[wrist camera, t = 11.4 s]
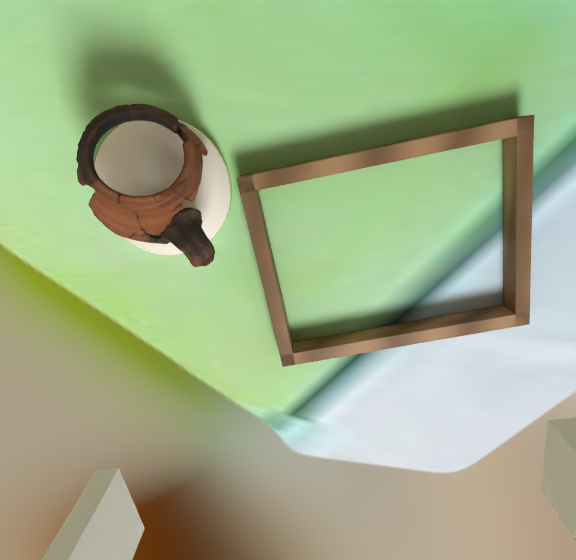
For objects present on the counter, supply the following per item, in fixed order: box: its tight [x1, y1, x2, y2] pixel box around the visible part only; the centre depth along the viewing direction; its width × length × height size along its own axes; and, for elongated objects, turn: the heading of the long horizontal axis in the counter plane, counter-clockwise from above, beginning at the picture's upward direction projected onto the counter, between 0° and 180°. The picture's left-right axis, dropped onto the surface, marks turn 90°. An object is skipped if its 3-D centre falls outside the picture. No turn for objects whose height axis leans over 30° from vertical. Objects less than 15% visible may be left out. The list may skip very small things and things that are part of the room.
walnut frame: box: [237, 115, 534, 367], centre depth 32 cm, size 22×17×2 cm
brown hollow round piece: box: [76, 104, 215, 267], centre depth 28 cm, size 12×10×8 cm
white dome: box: [94, 120, 232, 255], centre depth 31 cm, size 11×11×1 cm
